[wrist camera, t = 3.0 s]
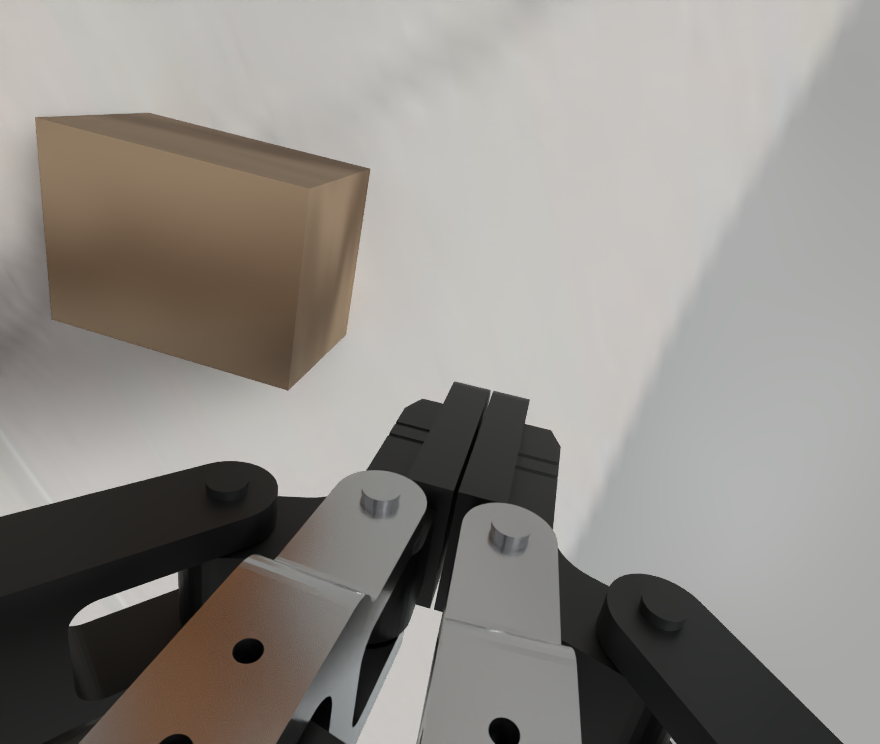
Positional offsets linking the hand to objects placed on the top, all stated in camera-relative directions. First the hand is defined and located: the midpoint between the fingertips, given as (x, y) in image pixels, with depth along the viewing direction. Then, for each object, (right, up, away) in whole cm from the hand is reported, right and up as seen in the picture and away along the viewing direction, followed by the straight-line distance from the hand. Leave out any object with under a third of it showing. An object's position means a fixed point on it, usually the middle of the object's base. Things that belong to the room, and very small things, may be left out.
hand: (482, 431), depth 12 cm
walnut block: (-7, +6, +10) cm, 14 cm away
